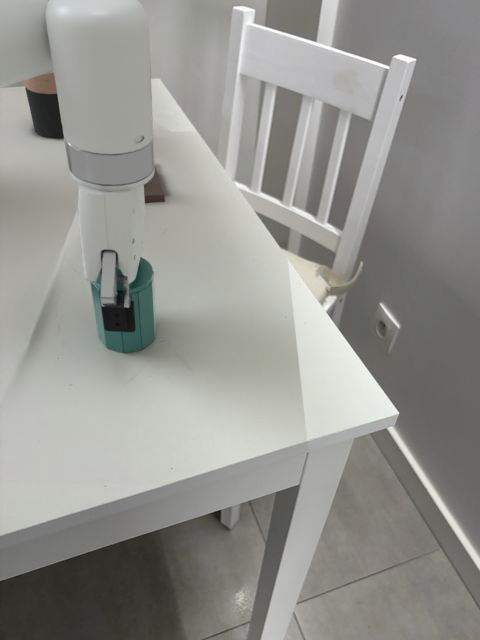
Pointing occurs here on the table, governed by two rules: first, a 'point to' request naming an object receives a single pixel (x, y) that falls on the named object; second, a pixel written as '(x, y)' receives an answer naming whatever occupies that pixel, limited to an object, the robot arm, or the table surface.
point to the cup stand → (154, 189)
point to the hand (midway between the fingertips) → (125, 306)
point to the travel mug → (44, 105)
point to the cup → (142, 306)
